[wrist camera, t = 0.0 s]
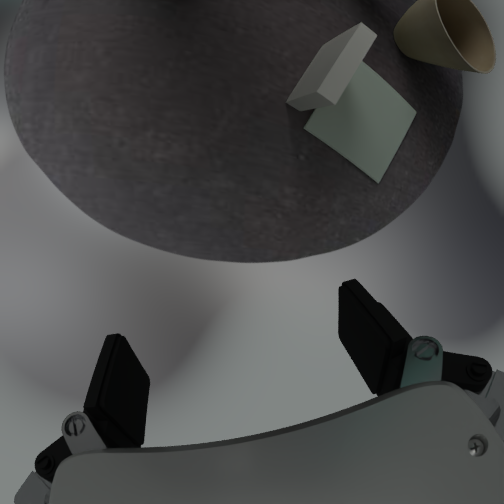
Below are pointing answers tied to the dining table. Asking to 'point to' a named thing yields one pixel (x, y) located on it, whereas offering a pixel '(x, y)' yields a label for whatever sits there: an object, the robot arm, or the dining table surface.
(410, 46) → the plant pot
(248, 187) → the dining table surface
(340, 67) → the tile
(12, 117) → the dining table surface
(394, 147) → the mat
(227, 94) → the dining table surface
